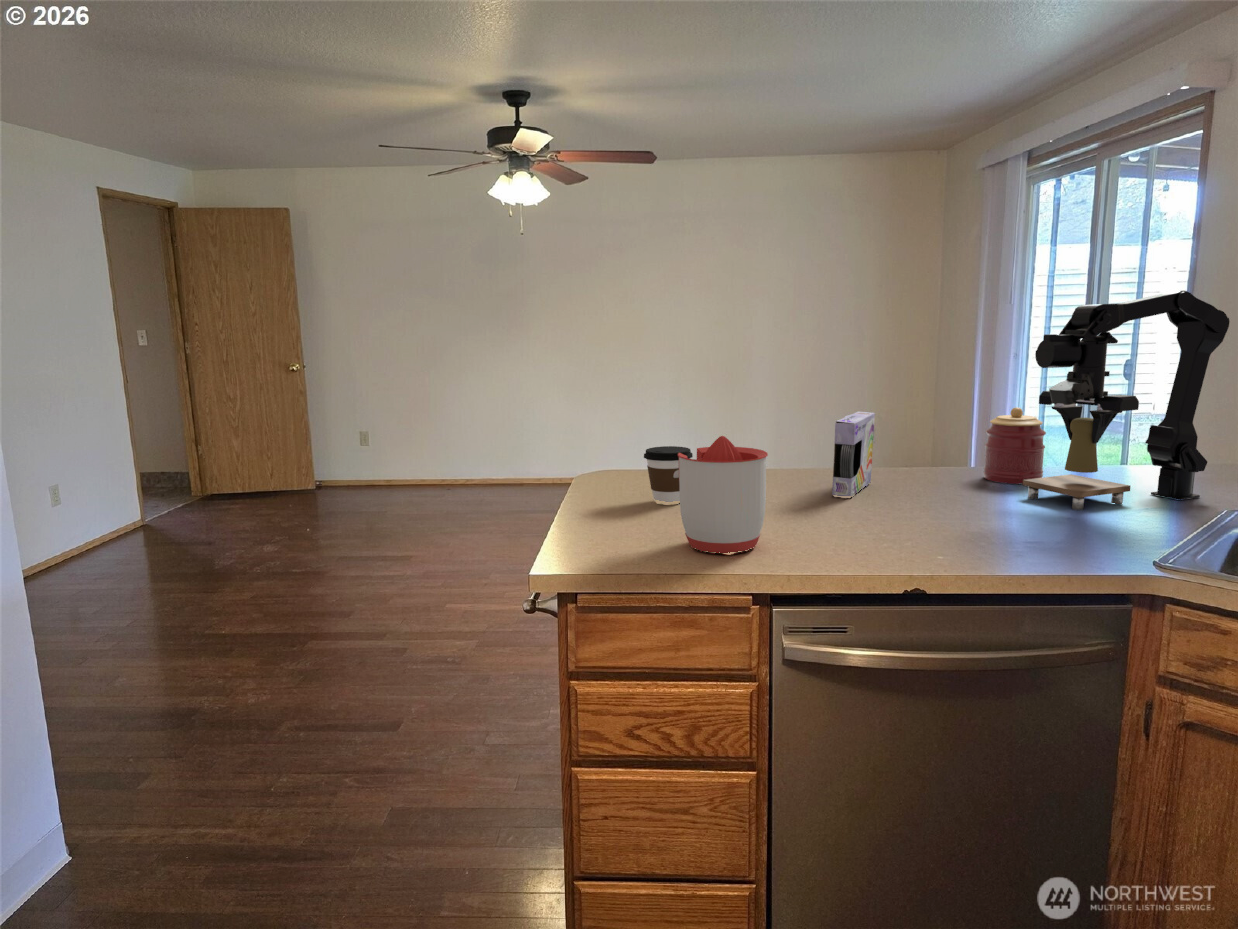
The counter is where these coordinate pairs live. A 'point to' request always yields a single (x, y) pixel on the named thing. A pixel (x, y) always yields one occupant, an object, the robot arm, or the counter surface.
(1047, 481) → the shelf board
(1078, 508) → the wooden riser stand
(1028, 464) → the canister
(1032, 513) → the counter surface
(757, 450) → the citrus juicer
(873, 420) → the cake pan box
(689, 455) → the coffee cup
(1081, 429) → the cork
